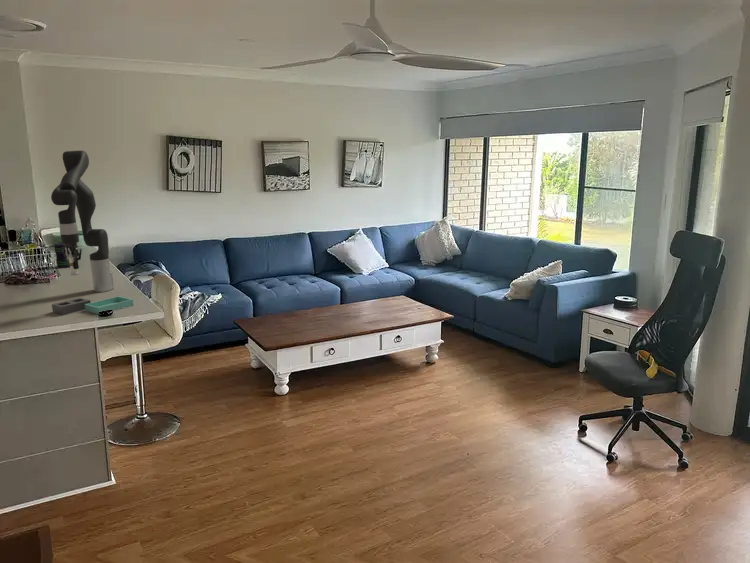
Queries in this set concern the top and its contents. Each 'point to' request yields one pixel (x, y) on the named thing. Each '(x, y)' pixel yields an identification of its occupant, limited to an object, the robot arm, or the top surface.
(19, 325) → the top surface
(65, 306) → the block
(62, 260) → the storage jar
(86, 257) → the top surface
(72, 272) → the fuse
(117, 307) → the tray
